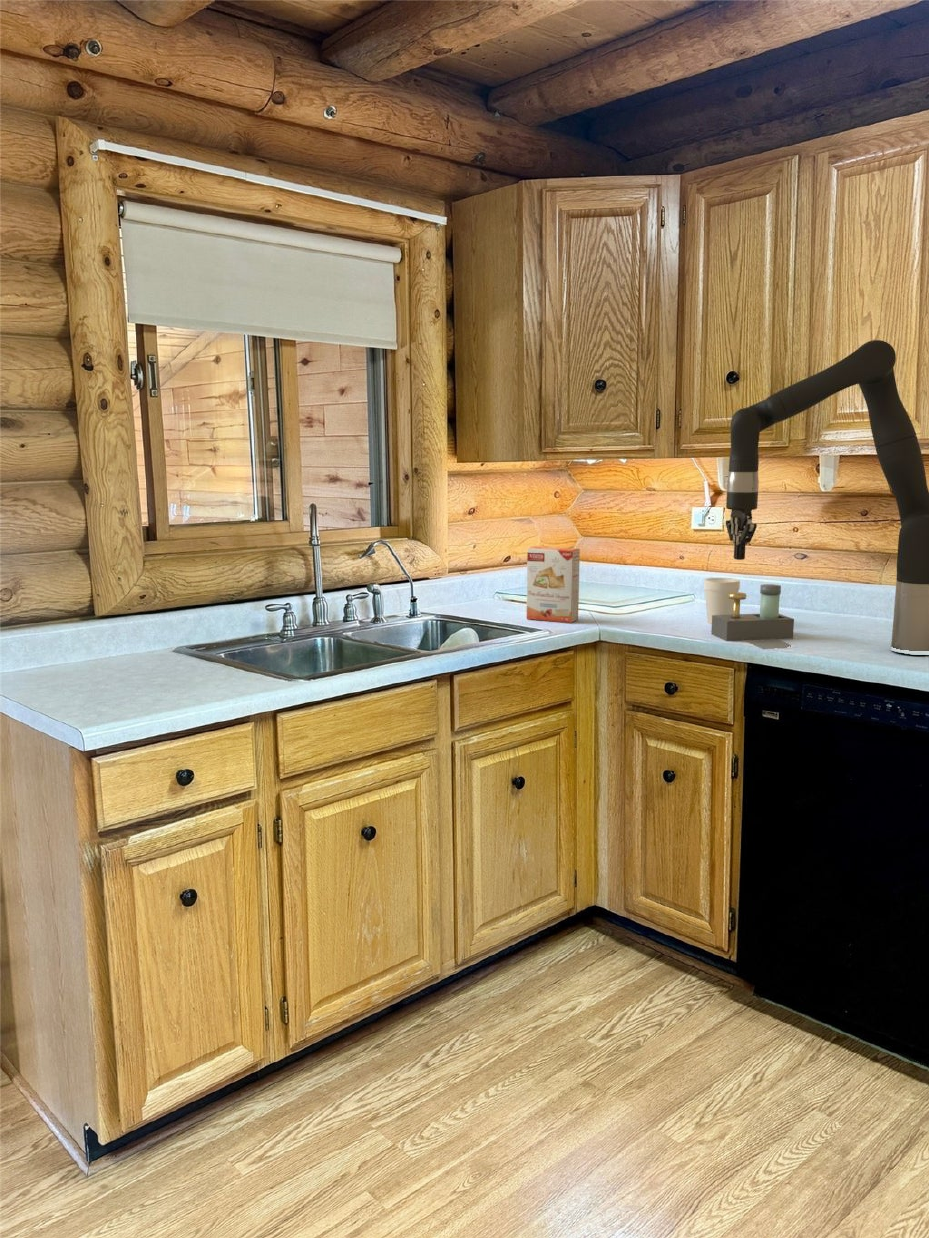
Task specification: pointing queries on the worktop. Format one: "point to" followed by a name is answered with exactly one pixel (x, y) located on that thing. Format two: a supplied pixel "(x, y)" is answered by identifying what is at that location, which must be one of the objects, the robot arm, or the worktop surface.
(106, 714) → the worktop surface
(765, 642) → the slate mat
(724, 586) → the foam cup
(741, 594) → the brass plunger
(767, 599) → the cylinder
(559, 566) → the cracker box
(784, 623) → the block
